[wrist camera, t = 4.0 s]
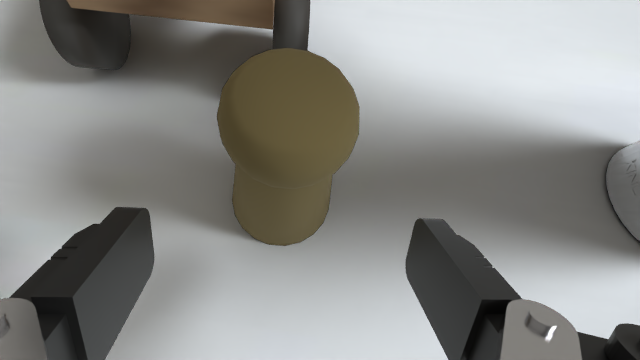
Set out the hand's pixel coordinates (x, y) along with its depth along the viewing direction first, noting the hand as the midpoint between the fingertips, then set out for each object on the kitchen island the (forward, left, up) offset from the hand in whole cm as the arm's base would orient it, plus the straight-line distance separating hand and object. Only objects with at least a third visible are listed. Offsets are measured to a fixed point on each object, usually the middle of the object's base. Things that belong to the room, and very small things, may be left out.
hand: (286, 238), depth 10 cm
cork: (0, -5, -10) cm, 11 cm away
